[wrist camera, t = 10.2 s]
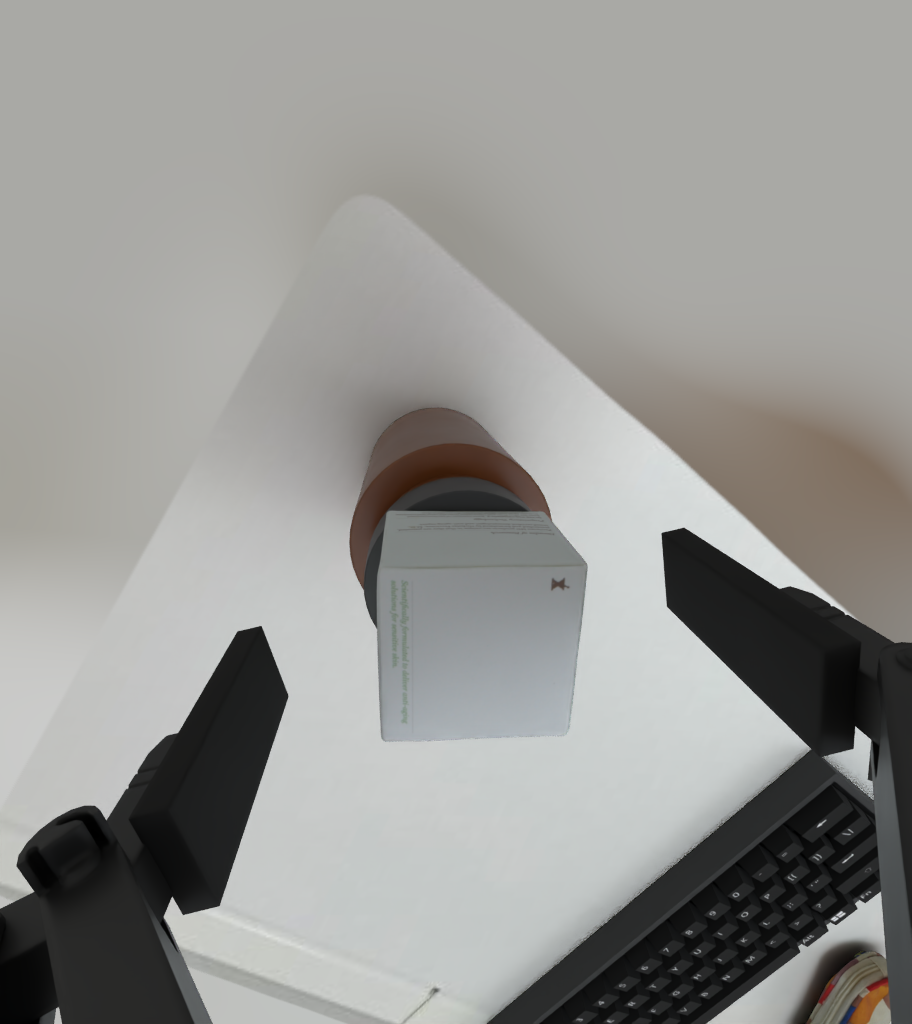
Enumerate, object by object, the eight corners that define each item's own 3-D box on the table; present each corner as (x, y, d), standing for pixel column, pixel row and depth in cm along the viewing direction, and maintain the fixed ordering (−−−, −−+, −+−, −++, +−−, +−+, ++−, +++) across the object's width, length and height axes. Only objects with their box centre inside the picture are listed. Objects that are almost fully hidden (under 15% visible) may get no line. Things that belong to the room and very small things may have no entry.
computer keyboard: (586, 1067, 58) (599, 1116, 54) (486, 1024, 54) (492, 1073, 50) (900, 823, 50) (939, 860, 47) (812, 749, 46) (847, 784, 42)
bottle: (353, 424, 33) (305, 497, 17) (487, 394, 33) (567, 439, 17) (387, 548, 36) (374, 713, 20) (510, 519, 36) (597, 659, 20)
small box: (382, 506, 17) (374, 566, 12) (547, 506, 18) (598, 563, 13) (384, 651, 19) (378, 752, 14) (534, 647, 19) (575, 741, 15)
